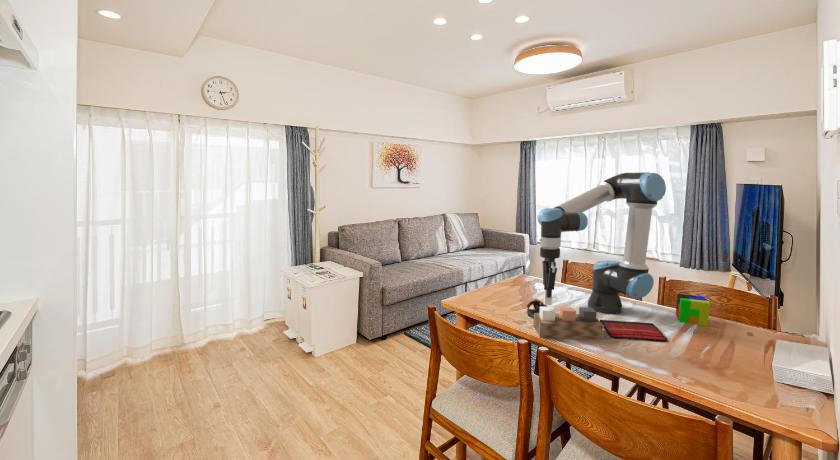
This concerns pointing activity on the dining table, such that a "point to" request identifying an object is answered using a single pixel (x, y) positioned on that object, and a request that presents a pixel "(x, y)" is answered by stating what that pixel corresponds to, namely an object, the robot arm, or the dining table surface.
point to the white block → (547, 314)
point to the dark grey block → (587, 314)
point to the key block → (568, 328)
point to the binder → (633, 330)
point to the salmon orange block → (567, 314)
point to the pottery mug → (537, 305)
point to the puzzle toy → (692, 309)
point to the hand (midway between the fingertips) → (547, 304)
